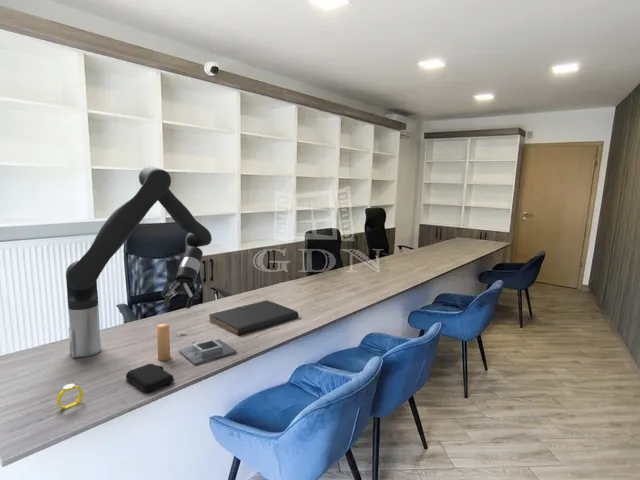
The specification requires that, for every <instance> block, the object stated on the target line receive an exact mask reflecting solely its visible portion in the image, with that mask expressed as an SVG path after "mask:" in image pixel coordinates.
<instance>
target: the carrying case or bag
mask: <svg viewBox="0 0 640 480" xmlns="http://www.w3.org/2000/svg"><path fill="white" fill-rule="evenodd" d="M125 378H126V379H127V380H128V381H129V382H130V383H132V384H133V385H134V386H135V387H137V389H140V390H141V391H142V392H144V393H145V394H146V393H147V394H148V393H153V392H154V391H157V390H160V389H161V388H165V387H168V386H170V385H171V384H172V383H173V382H174V378H175V377H174V375H173V374H171V373H169V371H166V370H164V367H163V366H161V365H157V364H154V363H147V364H144V365H142V366H140V367H136V368H133V369H130V370H128V372H127V373H126V374H125Z"/></svg>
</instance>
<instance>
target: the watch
mask: <svg viewBox="0 0 640 480" xmlns="http://www.w3.org/2000/svg"><path fill="white" fill-rule="evenodd" d="M74 389H77V390H78V396H77V398H76V400H75V401H74V402H71V403H68V404H67V405H62V404H61V403H62V402H61V399H62V398H63V395H64V394H65V393H66V392H69V391H70V392H71V391H72V390H74ZM83 394H84V393H83V389H82V388H81V387H80V386H78V385H76V384H75V383H68V384H65V385H63V386H62V389H61V390H60V391H59V393H58V395H57V397H56V404H57V405H58V407H59V408H61V409H62V410H63V409H64V410H67V409H70V408H72V407H74V406H76V405H77V406H78V404H79V403H80V401H81V400H82V398H83Z"/></svg>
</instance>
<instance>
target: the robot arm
mask: <svg viewBox="0 0 640 480" xmlns="http://www.w3.org/2000/svg"><path fill="white" fill-rule="evenodd" d="M138 181H139V183H140V185H141V187H140V188H139V190H138V191H137V192H136V193H135V195H133V197H131V198H130V199H129V200H128V201H126V202H124V203H123V204H122V205H120V206H119V207H118V208H116V209H115V210H114V211H113V212H112V213H110V214H111V215H110V216H109V217H108V218H107V219H106V220H105V222H104V223H103V224H102V227H101V228H100V229H99V231H98V232H97V235H96V236H95V238H94V240H93V242H92V244H91V246H90V247H89V249H88V250H87V251H86V252H85V253H84V254H83V256H82V257H81V258H80V259H79V260H76V261H74V262H72V263H70V264H69V266H68V267H67V269H66V271H65V281H66V283H65V284H66V293H67V298H66V299H67V309H68V310H67V311H68V313H67V314H68V326H69V327H68V341H69V352H70V353H69V354H70V355H71V357H72V359H74V358H85V357H90V356H93V355H96V354H98V353H100V352H101V350H102V344H101V343H102V341H101V325H100V324H101V323H100V310H99V309H100V308H99V305H100V304H99V294H98V293H99V292H98V291H99V290H98V279H99V277H100V275H101V273H102V272H103V270H104V269H105V267H106V265H107V264H108V262H109V261H110V260H111V258H113V256H114V255H116V253H117V252H118V251H119V250H120V248H121V247H122V246H123V245H124V243H126V242H127V240H128V239H129V238H130V237H131V236H132V233H134V232H135V230H136V229H137V227H138V226H139V224H140V223H141V221H142V220H143V219H144V217H146V215H147V213H148V212H149V211H150V209H151V208H153V206H154V205H155V204H156V203H157V202H159V204H160V205H161V206H162V207H163V208H164V210H165V211H166V212H167V213H168V215H170V217H171V219H173V221H174V222H175V224H176V225H177V226H178V227H179V229H180V230H181V231H182V232H184V233H187V234H186V236H185V252H184V254H183V256H182V260H181V262H180V264H179V267H178V269H177V273H176V276H175V280H174V281H173V282H170V281H168V280H167V281H166V282H165V283H164V286H163V288H162V291H161V295H162V297H163V298H164V299H163V301H162V304H163V306H164V308H169V304H170V302H171V298H173V297H175V296H176V295H177V294H178V295H187V294H188V299H187V301H186V305H185V307H186V309H190V308H192V306H193V303H194V301H195V300H199V299H200V297H201V292H202V288H203V286H202V284H201V283H200V282H197V283H196V280H197V277H198V274H199V270H200V266H201V265H200V264H201V261H202V259H203V255H204V253H203V251H202V249H201V248H200V247H205V246H208V245H210V244H211V242H212V237H213V236H212V234H211V232H210V230H209V229H207V227H205V226H204V225H203V224H201V223H200V222H199V221H198V220H196V218H195V217H194V215H193V214H192V213H191V212H190V210H189V209H188V208H187V207H186V206H185V205H184V204H183V202H181V200H180V199H178V198H177V196H176V195H175V194H174V193H173V192H172V190H170V188H171V187H170V186H171V184H172V178H171V175H170V173H169V172H168V171H166V170H164V169H163V168H159V167H156V166H147V167H144V168H142V169H141V170H140V172H139V175H138ZM194 288H195V291H194V294H193V293H192V290H193V289H194Z"/></svg>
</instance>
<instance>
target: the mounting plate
mask: <svg viewBox="0 0 640 480" xmlns="http://www.w3.org/2000/svg"><path fill="white" fill-rule="evenodd" d="M178 353H179V354H180V355H182V356H183V357H184V358H185V359H186V360H188V361H189V362H190V363H191V364H192V365H193V366H198V365H202V364H204V363H207V362H209V363H210V362H212V361H215V360H218V359H222V358H225V357H228V356H232V355H235V354H237V353H238V350H236V349H235V348H233V347H231V346H230V345H228V344H227V343H226V342H224V341H223V340H221V339H220V338H219V339H214V338H212V339H207V340H205V341H201V342H197V343H193V344H192V346H188V347H184V348H181V349H178Z"/></svg>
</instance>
